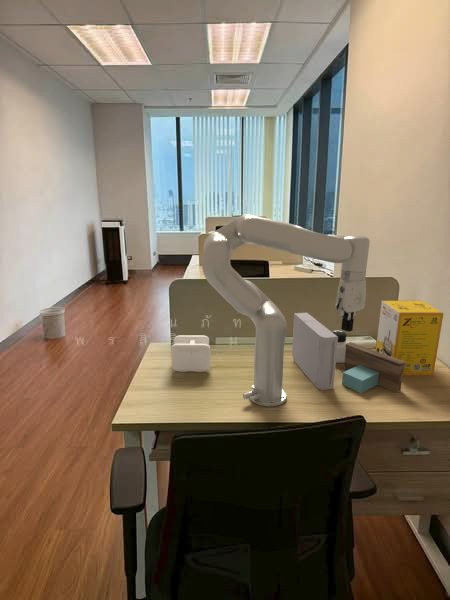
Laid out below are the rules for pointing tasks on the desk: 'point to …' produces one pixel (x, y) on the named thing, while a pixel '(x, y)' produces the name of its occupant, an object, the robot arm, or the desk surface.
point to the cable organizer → (191, 353)
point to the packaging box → (410, 334)
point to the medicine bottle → (340, 346)
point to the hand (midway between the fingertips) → (346, 330)
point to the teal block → (360, 378)
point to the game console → (314, 350)
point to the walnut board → (376, 365)
